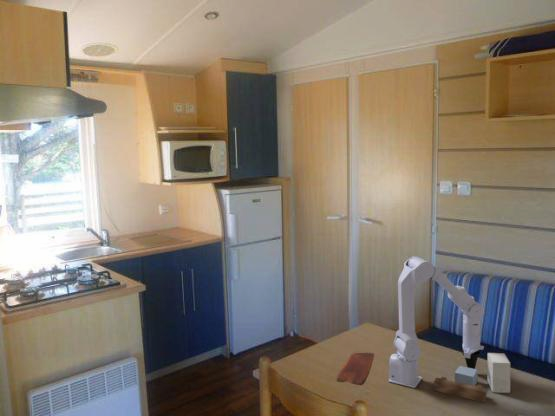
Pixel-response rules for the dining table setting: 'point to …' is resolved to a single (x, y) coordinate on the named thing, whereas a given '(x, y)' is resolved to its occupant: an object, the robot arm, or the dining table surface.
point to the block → (466, 375)
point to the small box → (498, 372)
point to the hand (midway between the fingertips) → (471, 369)
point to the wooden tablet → (356, 368)
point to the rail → (460, 389)
